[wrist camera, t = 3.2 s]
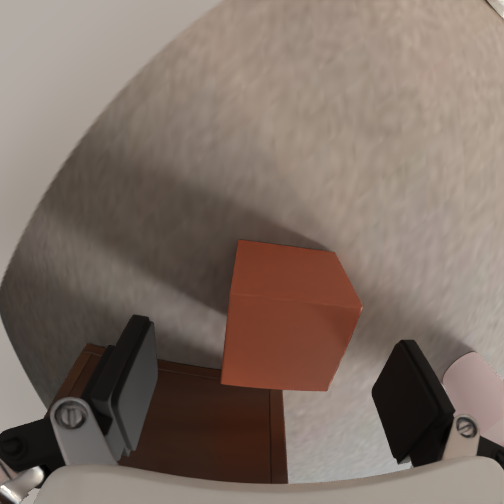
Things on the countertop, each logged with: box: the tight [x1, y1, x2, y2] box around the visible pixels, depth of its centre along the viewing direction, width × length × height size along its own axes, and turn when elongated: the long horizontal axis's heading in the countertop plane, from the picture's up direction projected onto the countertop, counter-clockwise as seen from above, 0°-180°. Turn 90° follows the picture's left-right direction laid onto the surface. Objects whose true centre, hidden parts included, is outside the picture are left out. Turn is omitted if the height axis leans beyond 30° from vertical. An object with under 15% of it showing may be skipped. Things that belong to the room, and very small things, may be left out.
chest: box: [44, 344, 288, 484], centre depth 16 cm, size 16×13×9 cm
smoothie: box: [443, 352, 504, 447], centre depth 11 cm, size 6×6×14 cm
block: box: [220, 240, 363, 391], centre depth 12 cm, size 4×4×4 cm
